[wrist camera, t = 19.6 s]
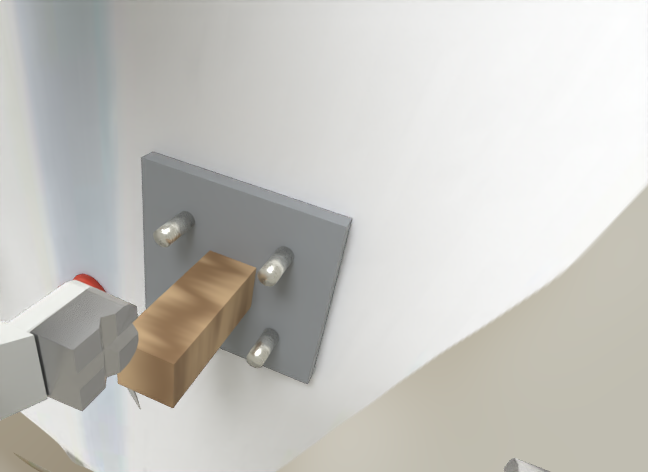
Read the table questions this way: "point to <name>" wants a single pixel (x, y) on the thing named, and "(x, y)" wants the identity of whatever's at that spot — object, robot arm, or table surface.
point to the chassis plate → (247, 254)
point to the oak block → (188, 327)
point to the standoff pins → (265, 275)
